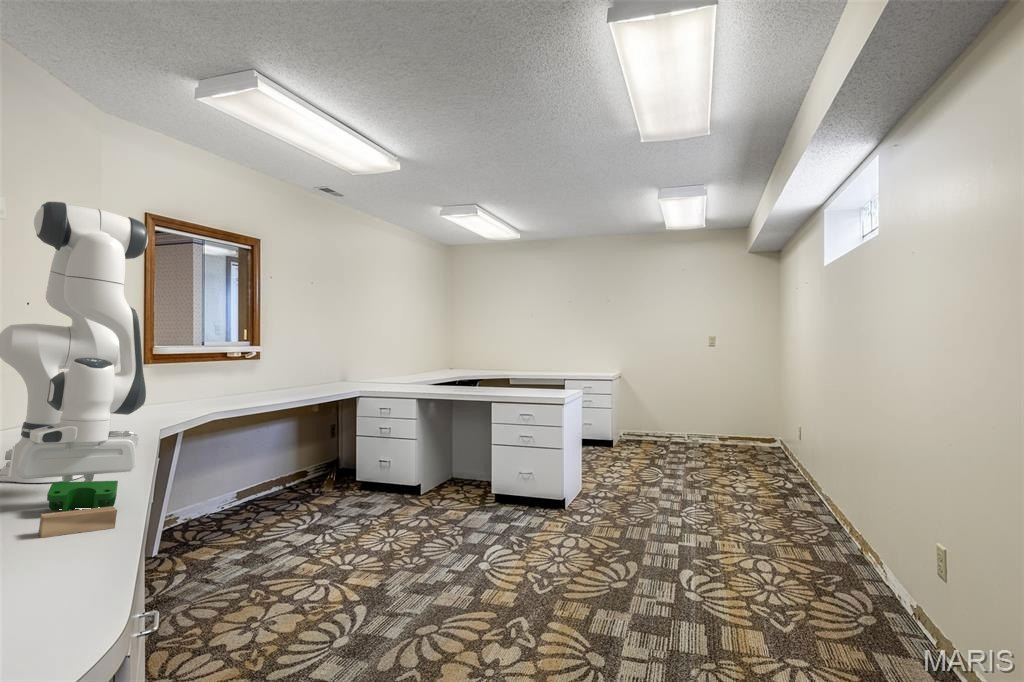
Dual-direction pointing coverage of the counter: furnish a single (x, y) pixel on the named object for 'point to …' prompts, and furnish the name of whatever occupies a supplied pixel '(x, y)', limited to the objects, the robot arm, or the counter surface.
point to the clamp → (82, 494)
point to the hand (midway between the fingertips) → (75, 495)
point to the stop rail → (77, 521)
